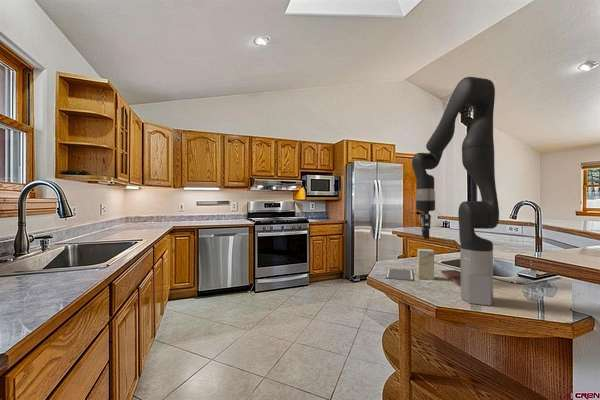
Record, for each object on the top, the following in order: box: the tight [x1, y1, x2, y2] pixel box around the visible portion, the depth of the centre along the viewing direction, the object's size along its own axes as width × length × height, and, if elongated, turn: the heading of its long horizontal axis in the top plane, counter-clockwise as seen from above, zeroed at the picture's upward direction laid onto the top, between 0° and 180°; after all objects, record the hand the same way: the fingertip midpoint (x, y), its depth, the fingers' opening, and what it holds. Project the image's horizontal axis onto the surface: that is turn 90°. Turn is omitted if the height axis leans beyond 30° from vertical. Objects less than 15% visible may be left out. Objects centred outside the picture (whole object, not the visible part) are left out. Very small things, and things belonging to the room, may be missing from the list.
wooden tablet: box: [440, 269, 461, 288], centre depth 117 cm, size 26×2×10 cm
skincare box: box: [416, 248, 435, 281], centre depth 118 cm, size 6×4×12 cm
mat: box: [385, 268, 415, 282], centre depth 123 cm, size 16×11×1 cm
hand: (425, 237), depth 118 cm, fingers open, 8 cm apart
